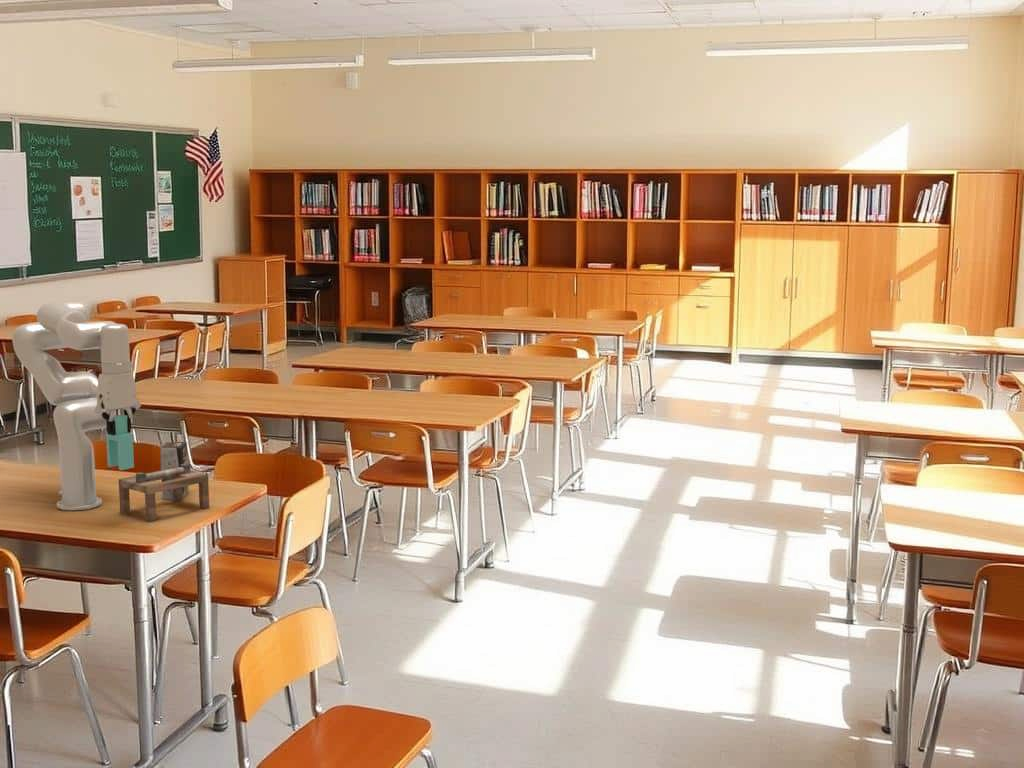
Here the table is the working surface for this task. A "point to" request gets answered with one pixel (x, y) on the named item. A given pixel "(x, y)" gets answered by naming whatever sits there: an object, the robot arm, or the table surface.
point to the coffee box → (173, 462)
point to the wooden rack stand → (162, 487)
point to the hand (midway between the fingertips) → (119, 432)
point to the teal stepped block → (120, 445)
